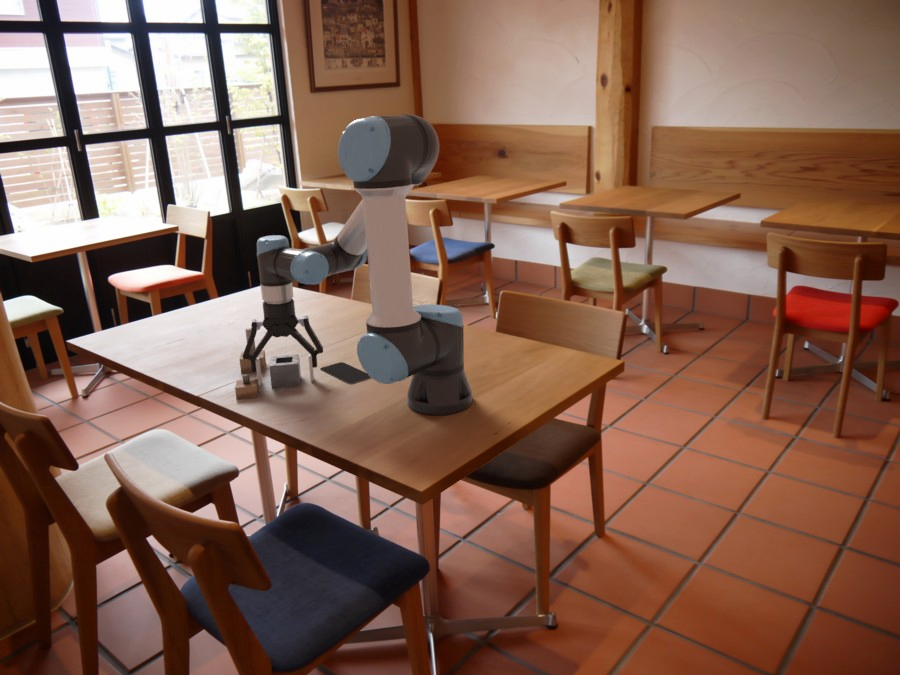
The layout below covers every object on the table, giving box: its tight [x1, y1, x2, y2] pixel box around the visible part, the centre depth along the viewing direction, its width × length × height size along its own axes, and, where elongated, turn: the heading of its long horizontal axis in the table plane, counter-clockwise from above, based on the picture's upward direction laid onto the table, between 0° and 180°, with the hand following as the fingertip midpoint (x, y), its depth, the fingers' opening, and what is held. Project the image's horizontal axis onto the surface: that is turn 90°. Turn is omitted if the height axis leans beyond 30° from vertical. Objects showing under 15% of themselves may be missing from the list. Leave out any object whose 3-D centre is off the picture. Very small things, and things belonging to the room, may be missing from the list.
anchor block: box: [234, 373, 260, 400], centre depth 180 cm, size 5×5×5 cm
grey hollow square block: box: [268, 354, 302, 390], centre depth 187 cm, size 7×7×6 cm
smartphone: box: [320, 361, 372, 385], centre depth 193 cm, size 7×1×15 cm
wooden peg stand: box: [239, 327, 267, 375], centre depth 196 cm, size 6×6×11 cm
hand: (286, 381), depth 188 cm, fingers open, 12 cm apart
